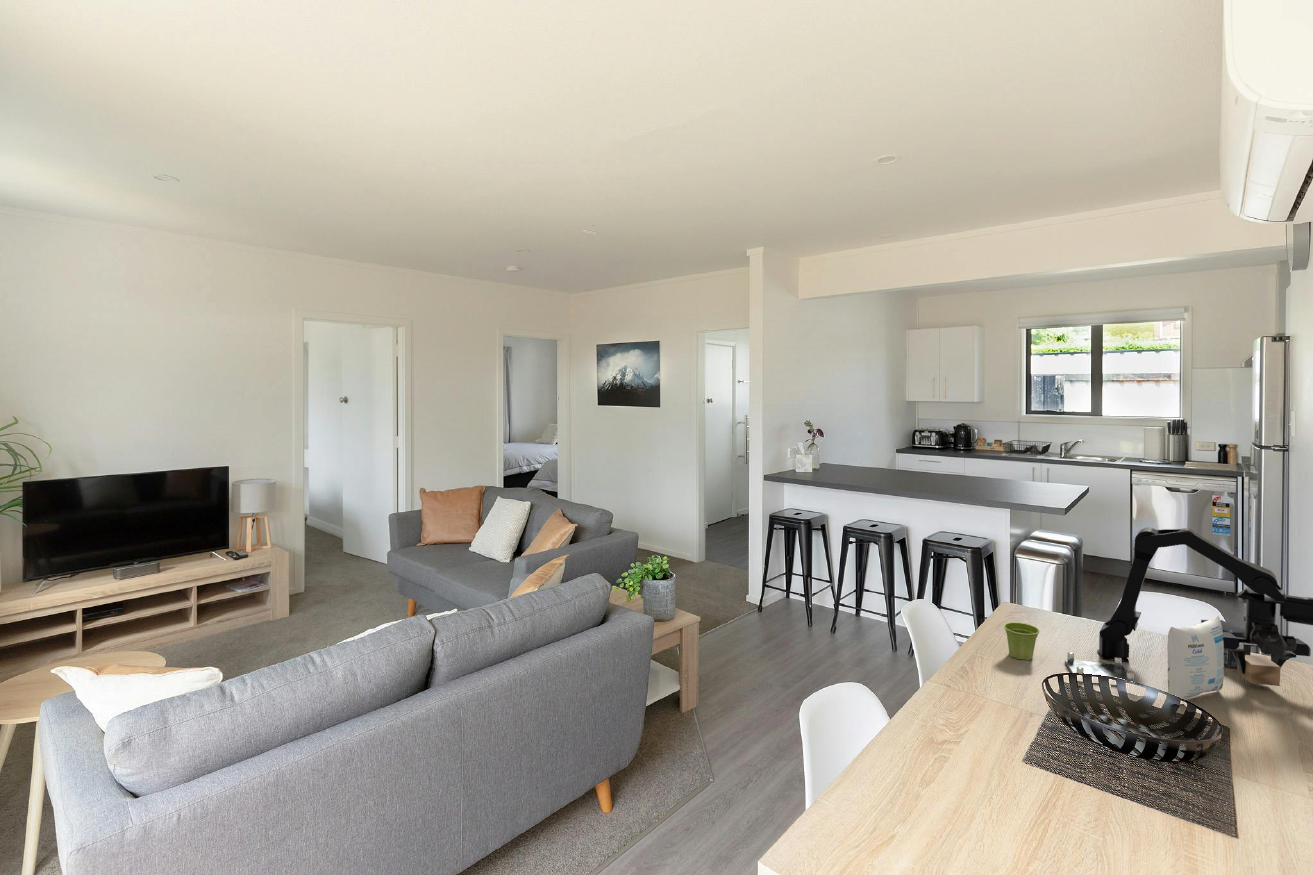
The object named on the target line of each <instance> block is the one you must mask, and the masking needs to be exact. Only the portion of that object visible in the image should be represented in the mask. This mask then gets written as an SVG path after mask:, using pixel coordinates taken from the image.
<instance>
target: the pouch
mask: <svg viewBox="0 0 1313 875" xmlns="http://www.w3.org/2000/svg"><path fill="white" fill-rule="evenodd" d="M1207 620H1208V621H1205V622H1203V623H1201V622H1200V623H1197V624H1193V625H1191V626H1189V627H1180V628H1178V627H1177V628H1176V627H1174V626H1171V627H1170V628H1169V630H1168V632H1167V644H1166V645H1167V648H1166V649H1167V651H1166V652H1167V690H1168V695H1169V694H1173V695H1176V696H1178V697H1180V698H1181V699H1185V700H1184V701H1186V700H1188V699H1192V698H1194V697H1198V696H1200V695H1202V694H1204V693H1211V692H1218V693H1219V692H1221V690H1222V689H1223V686H1224V678H1225V676H1224V675H1225V673H1224V672H1225V666H1224V643H1223V630H1222V625H1221V621H1220V620H1221V619H1220V616H1219V615H1218V616H1215V617H1212V618H1210V619H1207Z"/></svg>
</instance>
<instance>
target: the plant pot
mask: <svg viewBox="0 0 1313 875" xmlns="http://www.w3.org/2000/svg"><path fill="white" fill-rule="evenodd" d="M1003 628H1004V631H1005V633H1006V639H1007V645H1008V646H1007V647H1008V654H1009V656H1010V657H1012V658H1014V659H1017V660H1026V661H1029V660H1032V659H1033V657H1034V652H1035V645H1036V642H1037V641H1036V640H1037V638H1038V635H1039V634H1040V628H1038V627H1037V626H1034V625H1032V624H1029V623H1028V624H1027V623H1025V622H1007V623H1005V624H1003Z"/></svg>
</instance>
